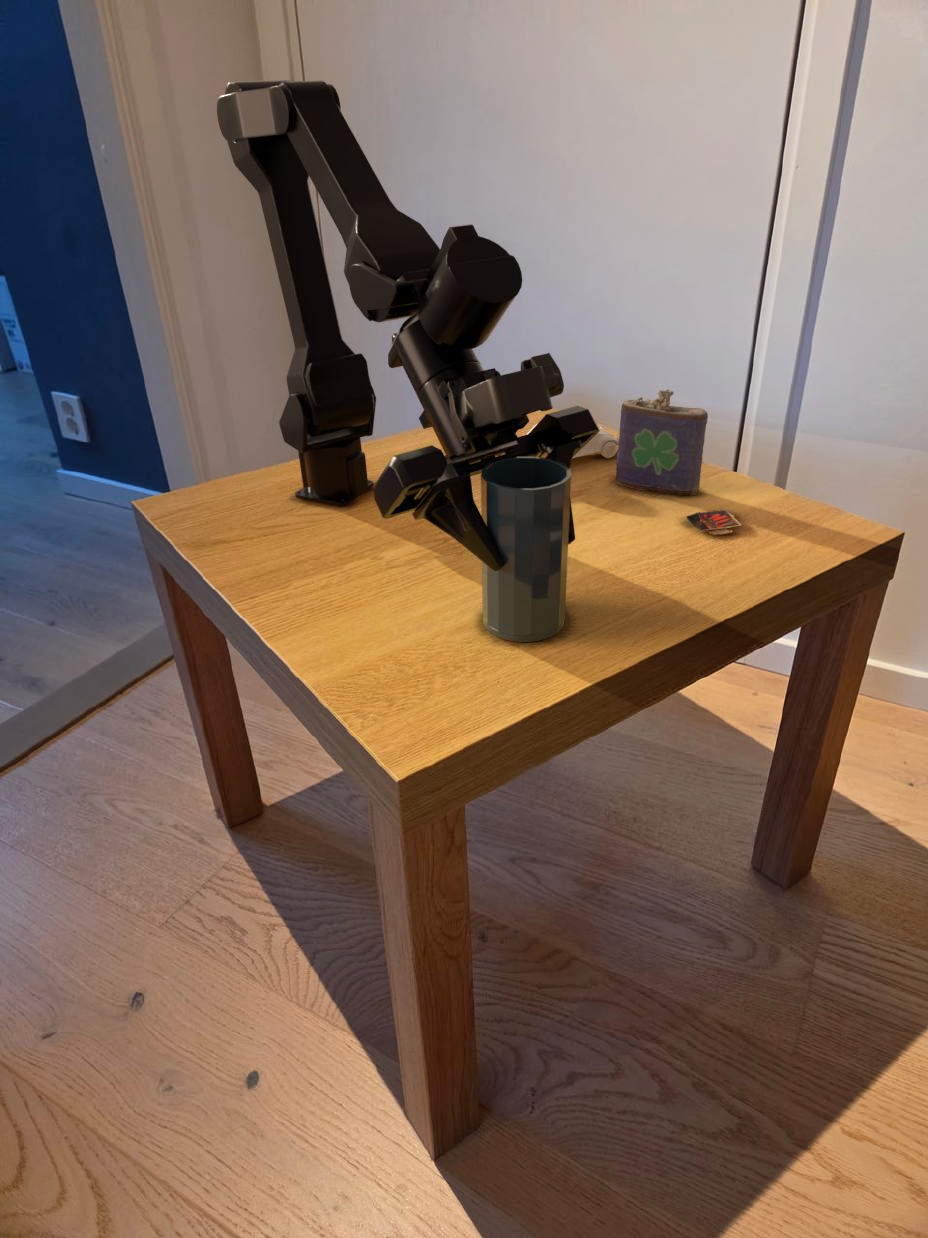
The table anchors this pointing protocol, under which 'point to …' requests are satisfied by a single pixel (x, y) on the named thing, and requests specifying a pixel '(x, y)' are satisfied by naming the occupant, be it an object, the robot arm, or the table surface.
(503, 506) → the tumbler
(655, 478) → the flask
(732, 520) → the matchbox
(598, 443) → the car
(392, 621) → the table surface
